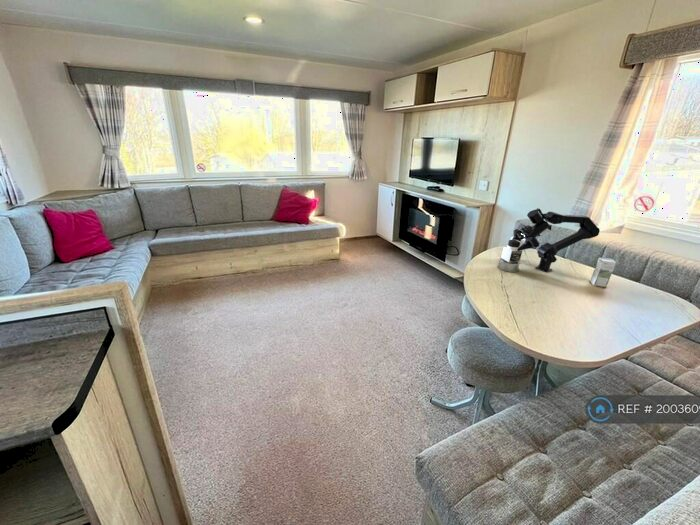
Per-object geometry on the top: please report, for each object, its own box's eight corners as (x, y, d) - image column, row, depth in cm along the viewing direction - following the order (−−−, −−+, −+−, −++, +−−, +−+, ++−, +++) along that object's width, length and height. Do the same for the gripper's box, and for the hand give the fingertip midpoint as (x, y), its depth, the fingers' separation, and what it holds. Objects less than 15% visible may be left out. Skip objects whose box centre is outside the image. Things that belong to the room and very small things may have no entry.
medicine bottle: (509, 262, 176) (514, 242, 171) (500, 258, 182) (505, 238, 178) (519, 262, 177) (525, 242, 173) (511, 257, 184) (515, 238, 179)
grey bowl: (504, 263, 188) (506, 255, 186) (521, 269, 181) (523, 261, 179) (494, 267, 183) (496, 258, 181) (511, 273, 175) (513, 264, 173)
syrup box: (602, 283, 167) (611, 258, 162) (606, 287, 162) (616, 262, 157) (589, 281, 169) (598, 256, 164) (593, 285, 164) (603, 260, 158)
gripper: (520, 215, 179) (497, 233, 183) (539, 223, 162) (514, 243, 166) (530, 228, 183) (507, 246, 186) (550, 238, 165) (525, 257, 169)
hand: (513, 247), depth 177 cm, fingers open, 9 cm apart
